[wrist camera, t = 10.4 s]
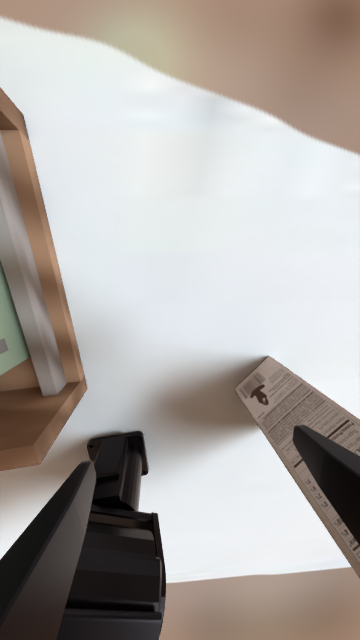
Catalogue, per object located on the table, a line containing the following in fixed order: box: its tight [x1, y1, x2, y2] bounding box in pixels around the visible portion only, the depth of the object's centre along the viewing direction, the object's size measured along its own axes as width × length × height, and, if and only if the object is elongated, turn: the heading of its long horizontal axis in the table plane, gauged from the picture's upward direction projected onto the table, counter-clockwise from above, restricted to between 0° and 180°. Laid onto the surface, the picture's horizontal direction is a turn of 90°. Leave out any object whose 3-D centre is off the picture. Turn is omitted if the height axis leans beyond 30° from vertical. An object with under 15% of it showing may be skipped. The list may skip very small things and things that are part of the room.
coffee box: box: [235, 356, 360, 578], centre depth 15 cm, size 9×6×16 cm
